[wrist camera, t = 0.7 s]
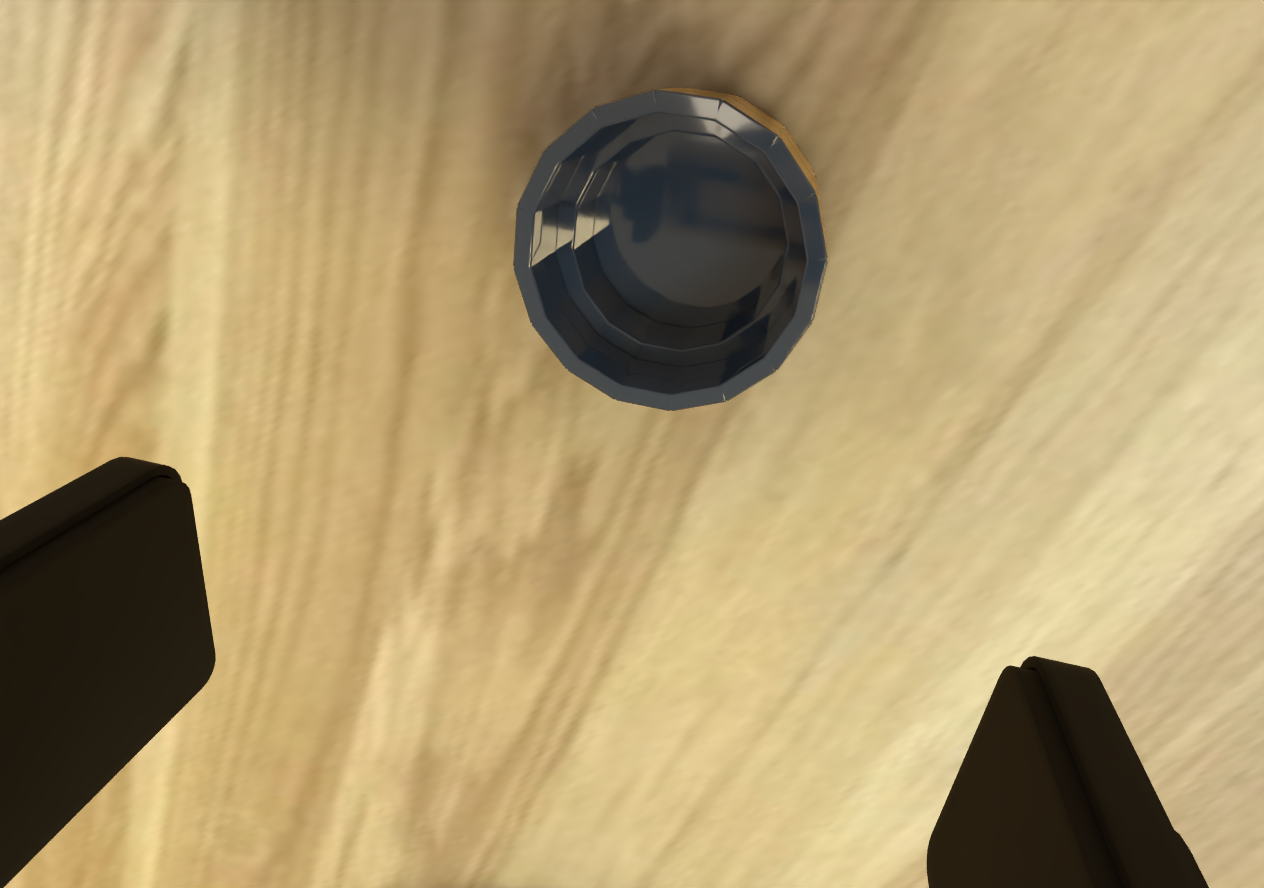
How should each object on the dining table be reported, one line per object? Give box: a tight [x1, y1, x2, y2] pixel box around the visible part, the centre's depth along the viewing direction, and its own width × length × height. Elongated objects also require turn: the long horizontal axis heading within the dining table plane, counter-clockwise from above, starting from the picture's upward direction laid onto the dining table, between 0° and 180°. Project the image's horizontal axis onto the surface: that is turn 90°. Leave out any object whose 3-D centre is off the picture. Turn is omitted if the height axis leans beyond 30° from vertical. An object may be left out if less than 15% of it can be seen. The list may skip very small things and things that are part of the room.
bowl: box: [513, 88, 828, 411], centre depth 20 cm, size 7×7×5 cm
